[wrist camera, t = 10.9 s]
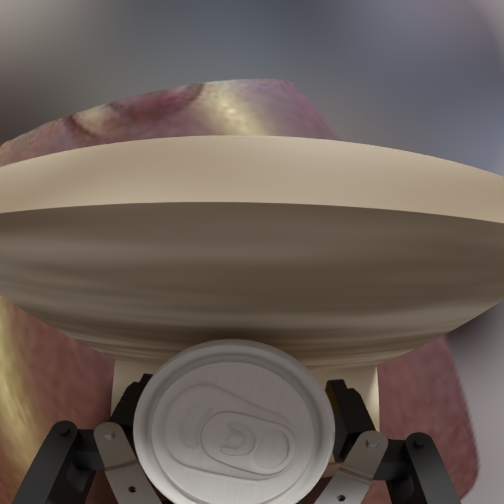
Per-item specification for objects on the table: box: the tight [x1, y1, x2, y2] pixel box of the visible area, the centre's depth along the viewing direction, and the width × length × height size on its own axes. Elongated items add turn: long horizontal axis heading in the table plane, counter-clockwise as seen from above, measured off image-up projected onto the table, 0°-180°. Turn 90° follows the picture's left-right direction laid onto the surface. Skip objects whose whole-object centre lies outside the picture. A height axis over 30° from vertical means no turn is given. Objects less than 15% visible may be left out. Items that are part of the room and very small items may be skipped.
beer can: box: [133, 339, 335, 504], centre depth 12 cm, size 6×6×15 cm
